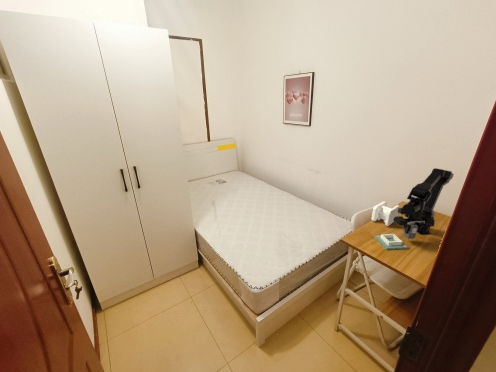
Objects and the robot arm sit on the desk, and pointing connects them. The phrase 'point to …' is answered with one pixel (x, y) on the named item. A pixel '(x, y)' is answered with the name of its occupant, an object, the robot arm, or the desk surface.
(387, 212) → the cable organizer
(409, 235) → the plug
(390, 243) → the socket
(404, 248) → the board
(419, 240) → the desk surface
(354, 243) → the desk surface
